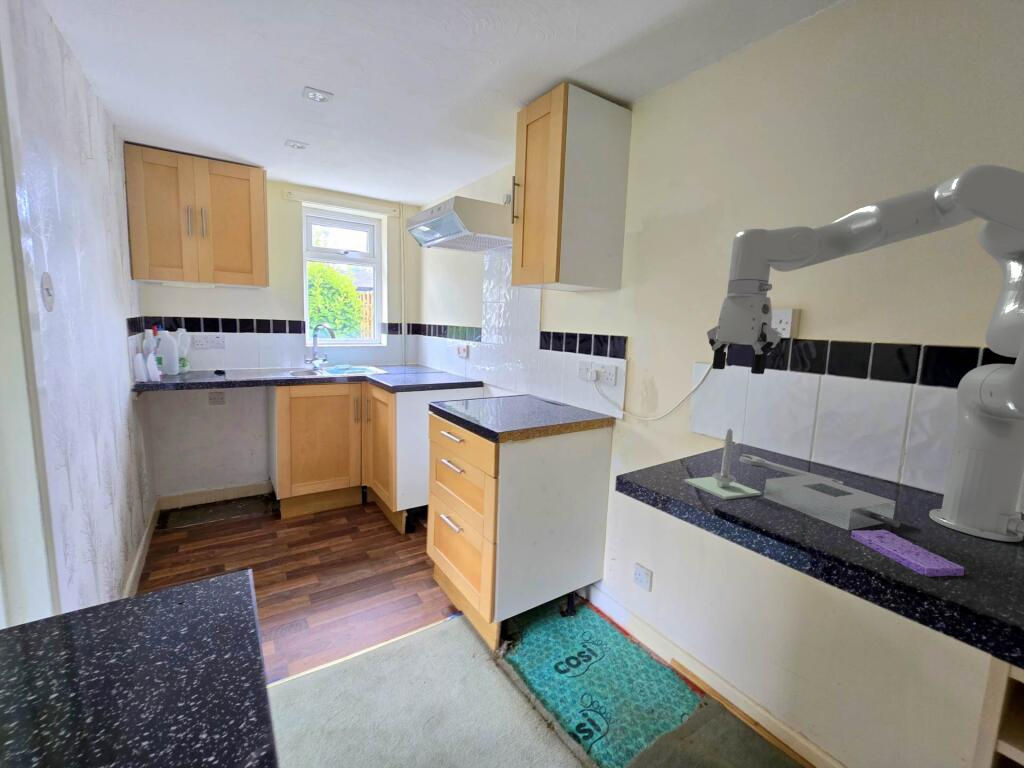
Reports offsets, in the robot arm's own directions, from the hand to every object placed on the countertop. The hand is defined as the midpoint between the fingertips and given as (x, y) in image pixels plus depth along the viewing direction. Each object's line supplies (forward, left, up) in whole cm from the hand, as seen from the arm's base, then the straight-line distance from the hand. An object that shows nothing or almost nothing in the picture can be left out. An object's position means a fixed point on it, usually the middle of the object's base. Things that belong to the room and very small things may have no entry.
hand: (736, 371), depth 96 cm
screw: (0, 0, -26) cm, 26 cm away
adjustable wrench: (+6, -29, -27) cm, 40 cm away
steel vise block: (-17, -12, -26) cm, 33 cm away
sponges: (-32, -3, -27) cm, 42 cm away
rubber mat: (0, 0, -26) cm, 26 cm away
